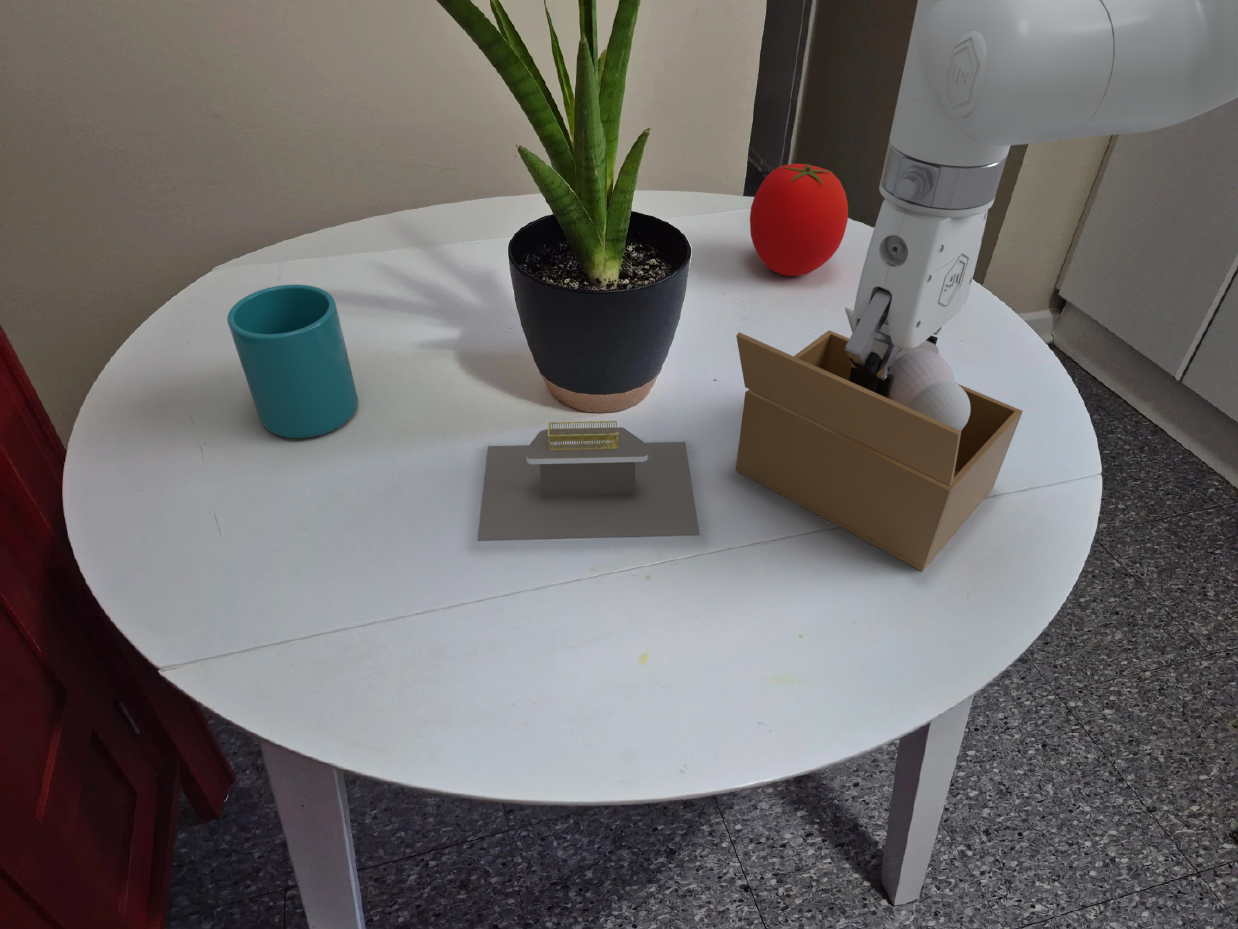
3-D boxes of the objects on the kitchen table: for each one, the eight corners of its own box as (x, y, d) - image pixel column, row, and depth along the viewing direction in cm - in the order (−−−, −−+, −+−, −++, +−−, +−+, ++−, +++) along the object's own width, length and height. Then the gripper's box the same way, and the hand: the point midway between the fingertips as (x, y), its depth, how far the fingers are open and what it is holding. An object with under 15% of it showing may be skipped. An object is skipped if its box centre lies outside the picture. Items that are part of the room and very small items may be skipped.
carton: (992, 489, 75) (1023, 410, 70) (922, 571, 68) (950, 491, 62) (814, 405, 84) (828, 329, 79) (735, 470, 77) (745, 391, 71)
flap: (961, 430, 57) (958, 435, 57) (953, 482, 62) (950, 486, 62) (739, 331, 66) (735, 335, 66) (747, 383, 71) (744, 387, 71)
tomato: (731, 252, 108) (742, 150, 100) (812, 243, 110) (829, 142, 102) (765, 297, 100) (779, 190, 91) (851, 286, 102) (873, 180, 93)
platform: (488, 446, 79) (481, 387, 75) (685, 441, 80) (689, 383, 75) (477, 540, 70) (469, 479, 66) (699, 534, 71) (705, 474, 66)
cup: (371, 366, 89) (349, 266, 81) (350, 440, 80) (323, 335, 72) (281, 369, 88) (251, 268, 81) (249, 443, 79) (213, 338, 72)
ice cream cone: (835, 344, 76) (941, 466, 67) (799, 322, 72) (907, 449, 63) (888, 291, 74) (1004, 411, 65) (854, 265, 69) (974, 390, 61)
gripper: (932, 232, 51) (873, 464, 63) (1046, 151, 61) (976, 364, 73) (823, 196, 55) (786, 421, 67) (946, 126, 65) (895, 332, 77)
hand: (885, 390), depth 70 cm, fingers closed on ice cream cone, 6 cm apart
